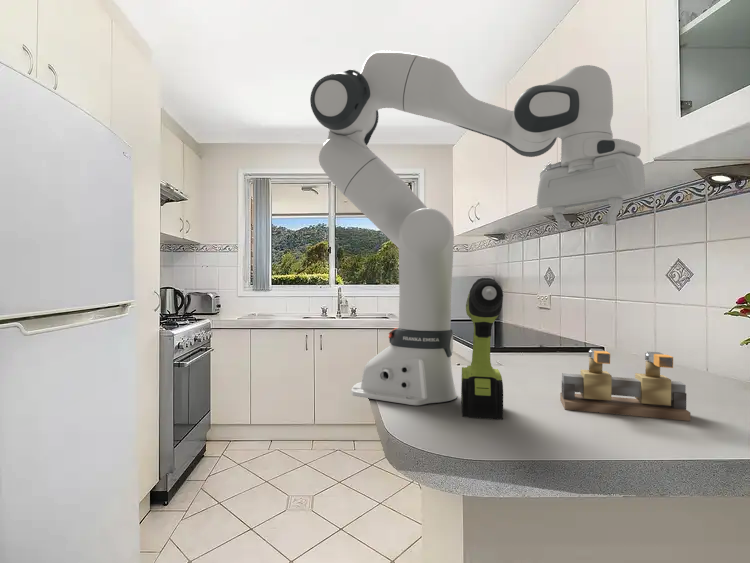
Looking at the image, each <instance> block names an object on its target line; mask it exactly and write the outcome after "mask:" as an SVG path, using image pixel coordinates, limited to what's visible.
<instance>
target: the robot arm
mask: <svg viewBox="0 0 750 563" xmlns="http://www.w3.org/2000/svg"><path fill="white" fill-rule="evenodd" d="M462 84H463V83H461V82H460V80H459V77H457V75H456V73H455V72H454V70H453V69H452V68H451V67H450V66H449V65H448V64H445V63H443V62H442V61H440V60H437V59H436V58H431V57H429V56H425V55H420V54H415V53H410V52H405V51H404V52H403V51H396V50H395V51H394V50H393V51H391V50H389V51H388V50H386V51H385V50H379V51H375V52H372V53H371V54H370V55H369V56H368V57H367V58H366V60H365V61H364V63H363V65H362V69H361V71H360V72H359V71H358V70H356V69H353V68H351V69H348V70H344V71H342V72H336V73H332V74H327V75H325V76H323V77H321V78H320V79H319V80H318V81H317V82H316V83H315V84H314V86H313V87H312V88H311V93H310V108H311V112H312V114H313V115H314V117H315V119H316V120H317V121H318V123H319V124H321V125H322V126H323V127H325V128H326V129H328V135H327V136H328V137H327V140H326V141H325V142H324V143H323V145H322V147H321V148H320V151H319V155H318V164H319V165H320V167H321V168H322V170H323V172H324V173H325V174H326V176H327V177H328V179H329V180H330V181H331V182H332V183H333V185H334V186H335V187H336V188H337V189H338V190H339V191H340V192H341V194H343V195H344V197H346V199H348V200H349V201H350V202H351V204H352V205H354V206H355V207H356V208H357V209H358V210H359V211H360V212H361V213H362V214H363V215H364V217H365V216H366V218H367V219H369V221H370V222H371V223H372V224H373V225H374V226H376V228H378V230H379V231H381V233H382V234H384V235H385V237H387V238H388V240H390V242H392V243H393V244H394V246H396V247H397V248H398V280H399V282H398V283H399V284H398V285H399V287H398V288H399V293H398V294H399V301H398V327H395V328H393V329H392V330H391V331H389V333H388V340H389V343H390V344H389V345H388V346H387V347H386V348H384V349H383V350H381V351H380V352H378V354H376V355H374V356H373V357H372V358H371V359H370V360H368V361H367V362H366V364H365V366H364V369H363V370H362V371H363V372H362V376H361V381H360V382H357V383H355V384H354V385H353V386H352V387H351V391H350V394H351V396H353V397H359V398H363V399H364V398H365V399H371V400H378V401H384V402H390V403H397V404H403V405H410V406H423V405H427V404H436V403H445V402H450V401H452V400H455V399H456V398H457V397H458V394H457V391H456V387H455V386H456V385H455V382H454V376H453V375H454V374H453V369H452V367H453V365H452V356H453V350H454V336H453V329H451V323H452V322H451V321H452V320H451V318H452V314H451V313H452V288H453V287H452V285H453V284H452V283H453V268H454V266H453V264H454V245H455V244H454V243H455V242H454V239H455V238H454V237H455V233H454V232H455V231H454V227H453V224H452V222H451V220H450V219H449V218H448V217H447V215H445V213H444V212H442V211H440V210H438V209H436V208H432V207H427V206H426V204H425V203H424V202H423V201H422V200H421V199H420V198H419V197H418V196H417V194H415V193H414V191H413V190H412V189H411V188H410V187H409V185H408V184H407V183H406V182H405V181H404V180H403V179H402V178H401V177H400V176H399V175H397V174H396V172H394V170H393V169H391V168H390V167H389V166H388V165H387V164H386V163H385V162H384V161H383V160H382V159H381V158H380V157H378V155H377V154H375V153H374V151H372V150H371V148H370V147H369V146H368V144H369V142H370V140H371V138H372V135H373V133H374V132H375V130H376V128H377V126H378V123H379V110H382V109H395V110H397V111H401V112H405V113H408V114H412V115H415V116H416V115H417V116H420V117H424V118H429V119H433V120H437V121H441V122H444V123H446V124H451V125H454V126H456V127H459V128H461V129H465V130H468V131H470V132H474V133H478V134H479V135H483V136H486V137H489V138H492V139H494V140H498V141H501V142H502V143H504V144H505V145H507V146H508V147H509V148H510V149H511V150H512V151H514V152H515V153H517V154H518V155H520V156H523V157H526V158H534V157H538V156H541V155H544V154H546V153H548V151H549V150H551V149H552V148H553V146H554V145H555V143H556V142H557V138H559V139H560V140H561V145H560V146H561V153H560V161H559V162H558V161H557V162H555V163H553V164H552V163H551V164H548V165H546V166H545V167H544V168H543V169H542V170H541V171H540V173H539V182H538V186H537V187H538V188H537V193H536V194H537V196H536V206H537V208H538V209H539V210H541V211H552V215H553V217H554V219H555V221H556V222H557V228H556V229H557V230H558V231H561V232H562V231H569V230H570V221H568V220H566V218H565V216H564V215H563V214H566V209H567V208H573V207H574V208H575V207H580V206H586V205H591V204H592V205H593V204H594V205H595V204H599V203H606V202H607V203H608V206H609V205H610V207H609V208H608V211H607V213H606V214H602V225H603V226H615V225H616V224H617V223H616V222H617V220H616V219H617V215H618V213H619V212H620V210H621V208H622V206H623V200H625V199H630V198H636V197H641V195H642V194H643V192H644V190H645V189H646V188H645V187H646V180H645V177H646V176H645V168H644V163H643V161H642V160H641V158H639V157H640V154H641V149H642V148H641V146H640V145H638V144H636V143H634V142H633V141H632V142H631V141H628V140H625V139H620V138H613V137H614V136H613V131H612V128H611V122H612V118H613V116H614V95H613V85H612V81H611V78H610V75H609V73H608V72H607V71H606V70H605V69H603V68H602V67H599V66H595V65H581V66H580V65H579V66H576V67H573V68H571V69H570V70H569V71H567V72H566V73H565V74H564V75H562V76H561V77H559V78H558V79H555V80H552V81H550V82H547V83H545V84H539V85H534V86H532V87H529V88H528V89H525V90H524V91H523V92H522V93H521V94H520V95H519V97H518V98H517V100H516V102H515V104H514V109H513V110H509V109H507V108H503V107H500V106H497V105H494V104H492V103H488V102H484V101H483V100H479V99H478V98H475V96H473V95H471V94H470V93H469V91H467V90H466V88H465V87H464V86H463V85H462Z"/></svg>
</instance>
